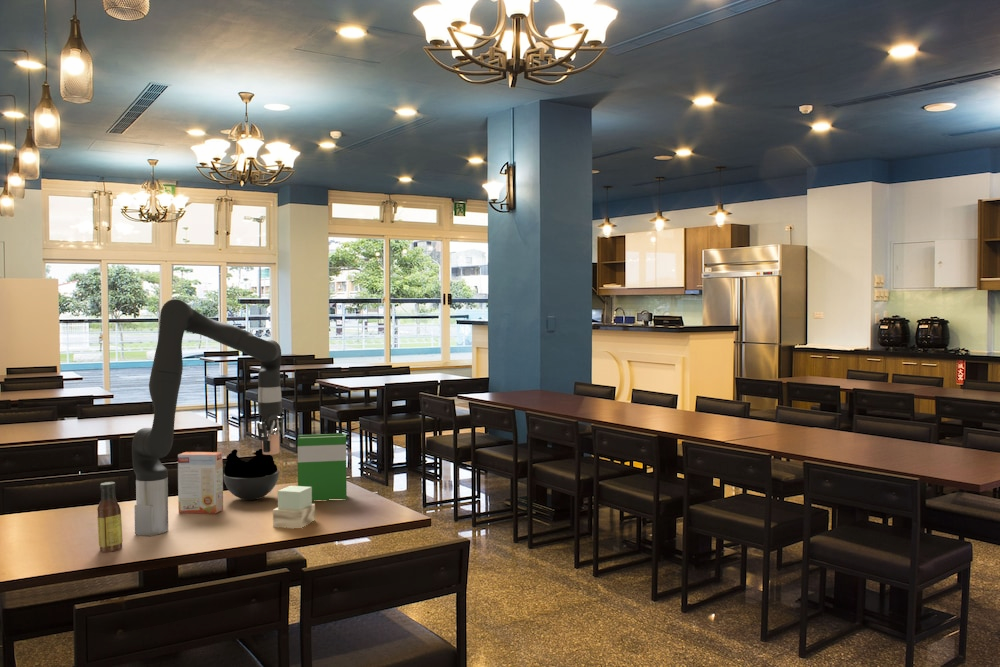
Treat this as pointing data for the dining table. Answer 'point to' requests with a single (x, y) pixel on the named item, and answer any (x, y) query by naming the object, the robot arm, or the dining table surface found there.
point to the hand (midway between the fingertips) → (271, 450)
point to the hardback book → (323, 465)
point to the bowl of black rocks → (250, 475)
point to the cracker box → (200, 482)
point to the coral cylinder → (273, 445)
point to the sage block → (294, 497)
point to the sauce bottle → (109, 519)
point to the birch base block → (293, 517)
